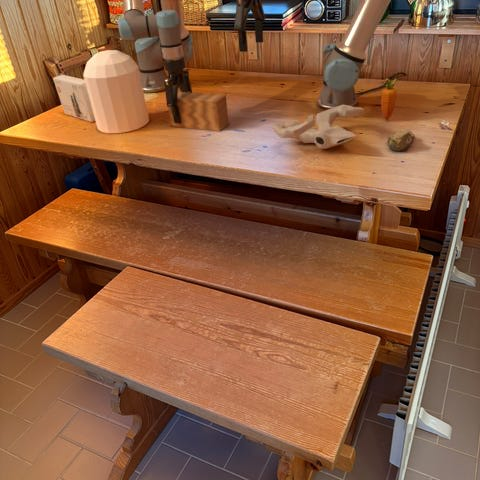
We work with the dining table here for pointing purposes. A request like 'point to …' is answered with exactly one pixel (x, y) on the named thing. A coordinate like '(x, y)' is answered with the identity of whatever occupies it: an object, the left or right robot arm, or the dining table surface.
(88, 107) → the skincare box
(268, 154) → the dining table surface
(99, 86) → the container
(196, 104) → the box
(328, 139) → the animal horns
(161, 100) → the dining table surface
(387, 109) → the carrot
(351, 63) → the right robot arm
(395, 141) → the rock
